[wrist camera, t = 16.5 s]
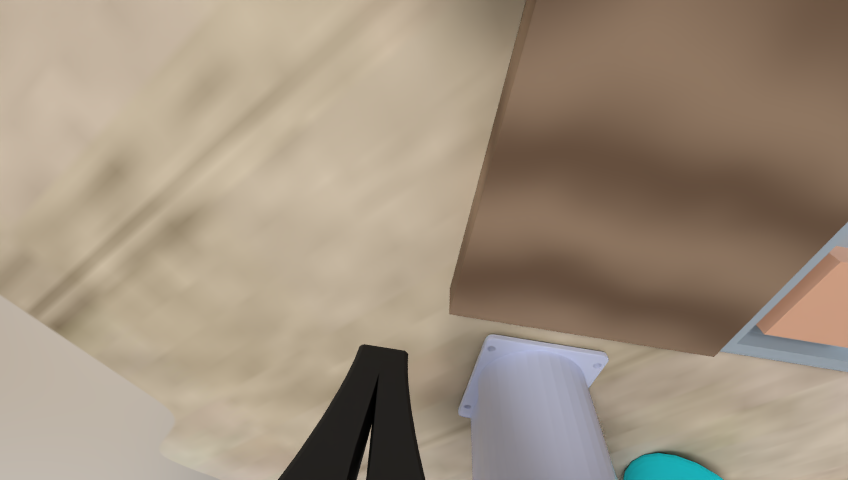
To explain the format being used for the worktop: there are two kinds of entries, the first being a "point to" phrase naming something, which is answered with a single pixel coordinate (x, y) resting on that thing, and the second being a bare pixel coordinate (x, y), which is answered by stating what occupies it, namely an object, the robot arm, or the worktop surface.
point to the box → (788, 349)
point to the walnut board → (658, 167)
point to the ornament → (667, 469)
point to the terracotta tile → (815, 305)
